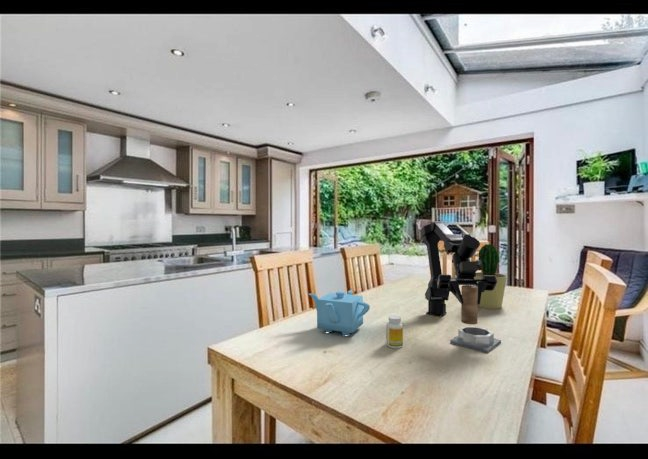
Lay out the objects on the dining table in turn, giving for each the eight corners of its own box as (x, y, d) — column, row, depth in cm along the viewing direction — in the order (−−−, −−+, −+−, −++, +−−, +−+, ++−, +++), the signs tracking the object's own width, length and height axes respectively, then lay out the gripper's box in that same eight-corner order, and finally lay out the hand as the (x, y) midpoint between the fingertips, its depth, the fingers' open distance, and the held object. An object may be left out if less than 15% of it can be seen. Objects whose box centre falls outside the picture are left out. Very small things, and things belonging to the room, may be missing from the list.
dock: (450, 343, 113) (450, 331, 113) (465, 334, 121) (465, 323, 121) (487, 353, 104) (487, 340, 104) (501, 342, 113) (501, 331, 113)
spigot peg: (458, 322, 113) (459, 286, 113) (465, 318, 117) (465, 284, 116) (473, 325, 110) (474, 289, 109) (479, 322, 113) (480, 286, 113)
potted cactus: (507, 303, 163) (508, 242, 162) (505, 311, 150) (506, 244, 149) (473, 300, 171) (473, 241, 170) (468, 306, 158) (468, 243, 157)
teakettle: (373, 335, 121) (373, 294, 121) (325, 342, 115) (324, 299, 114) (351, 320, 139) (351, 285, 138) (308, 326, 132) (307, 289, 132)
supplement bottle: (383, 344, 112) (383, 316, 112) (396, 341, 115) (396, 313, 114) (393, 349, 108) (393, 320, 107) (406, 347, 110) (406, 318, 110)
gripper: (438, 251, 118) (444, 289, 107) (495, 252, 115) (507, 291, 104) (435, 270, 126) (440, 307, 115) (488, 271, 123) (498, 309, 112)
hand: (470, 303), depth 111 cm, fingers closed on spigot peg, 5 cm apart
